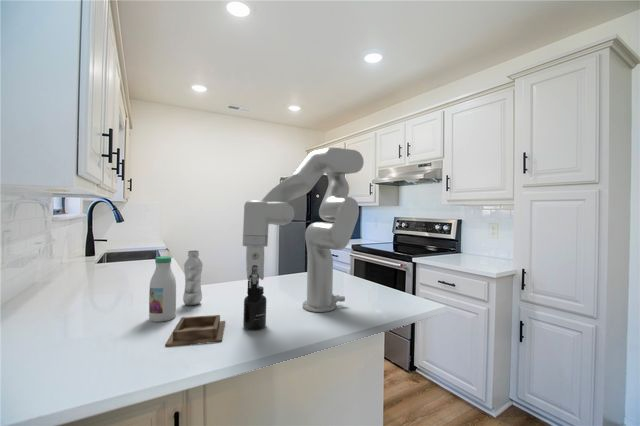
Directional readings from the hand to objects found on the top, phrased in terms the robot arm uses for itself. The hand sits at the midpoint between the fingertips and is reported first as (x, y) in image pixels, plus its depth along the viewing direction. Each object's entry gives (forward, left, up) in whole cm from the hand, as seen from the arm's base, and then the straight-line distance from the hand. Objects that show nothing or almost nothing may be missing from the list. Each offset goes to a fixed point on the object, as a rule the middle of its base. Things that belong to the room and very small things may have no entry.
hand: (252, 297), depth 90 cm
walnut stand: (+15, +2, -9) cm, 18 cm away
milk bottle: (+28, -13, -9) cm, 33 cm away
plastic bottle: (+21, -26, -9) cm, 35 cm away
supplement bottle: (-1, 0, -9) cm, 9 cm away
